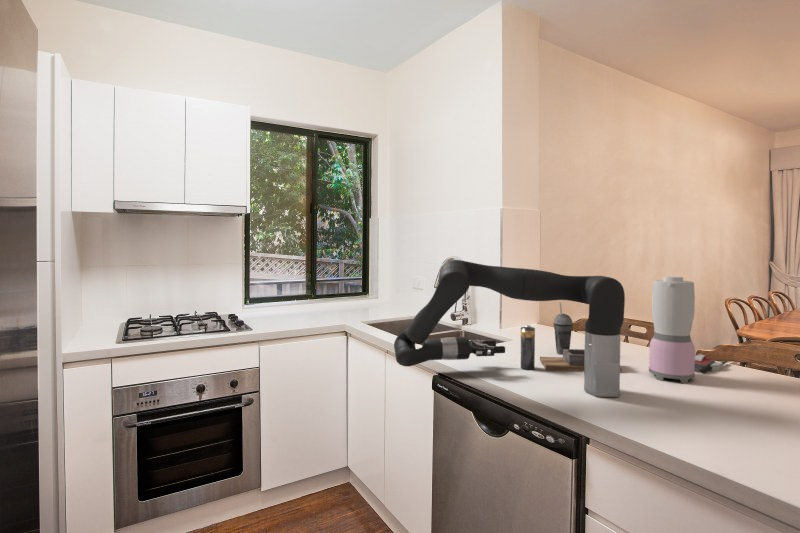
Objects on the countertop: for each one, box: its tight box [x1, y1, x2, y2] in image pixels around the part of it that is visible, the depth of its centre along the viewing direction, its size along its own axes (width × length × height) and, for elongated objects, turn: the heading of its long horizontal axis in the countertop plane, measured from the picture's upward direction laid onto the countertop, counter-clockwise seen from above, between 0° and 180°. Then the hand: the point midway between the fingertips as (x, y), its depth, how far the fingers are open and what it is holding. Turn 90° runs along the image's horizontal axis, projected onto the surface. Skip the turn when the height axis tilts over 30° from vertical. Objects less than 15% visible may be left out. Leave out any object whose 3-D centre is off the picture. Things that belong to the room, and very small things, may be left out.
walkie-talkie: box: [694, 353, 728, 374], centre depth 144 cm, size 9×4×20 cm
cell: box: [520, 324, 536, 371], centre depth 144 cm, size 5×5×15 cm
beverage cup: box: [553, 302, 574, 356], centre depth 163 cm, size 7×7×20 cm
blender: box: [648, 275, 696, 384], centre depth 134 cm, size 16×12×32 cm
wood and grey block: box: [539, 348, 623, 374], centre depth 145 cm, size 12×24×8 cm, turn 82°
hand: (500, 346), depth 142 cm, fingers open, 8 cm apart
